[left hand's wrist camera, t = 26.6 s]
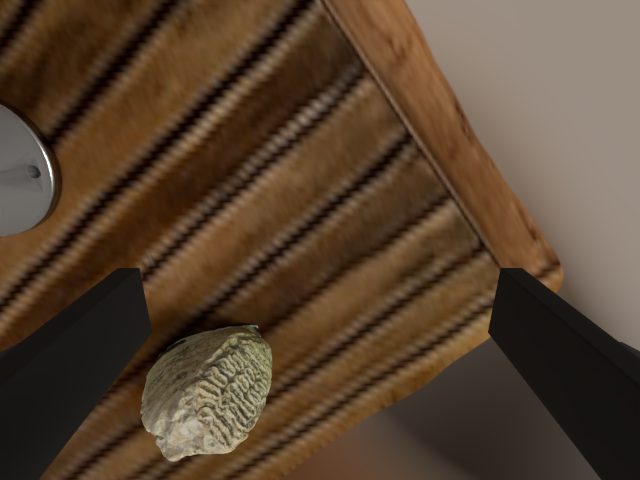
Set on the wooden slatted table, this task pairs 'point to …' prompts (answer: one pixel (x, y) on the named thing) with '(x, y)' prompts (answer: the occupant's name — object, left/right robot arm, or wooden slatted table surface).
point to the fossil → (207, 391)
